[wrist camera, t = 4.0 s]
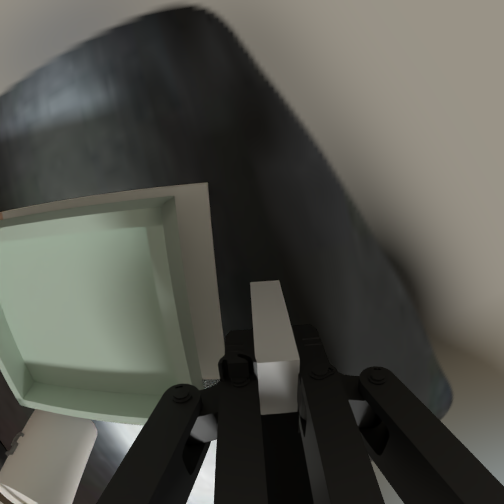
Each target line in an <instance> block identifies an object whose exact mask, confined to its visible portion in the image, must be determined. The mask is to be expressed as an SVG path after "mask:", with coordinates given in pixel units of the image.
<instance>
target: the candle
mask: <svg viewBox="0 0 504 504" xmlns="http://www.w3.org/2000/svg"><path fill="white" fill-rule="evenodd" d="M96 437H97V429H96V426H95V424H94V423H93V422H92V420H91V419H86V418H79V417H74V416H68V415H63V414H58V413H53V412H48V411H43V410H39V409H35V410H34V412H33V414H32V415H31V417H30V419H29V420H28V422H27V424H26V425H25V427H24V429H23V431H22V432H19V433H18V434H17V435H16V436H15V438H14V439H13V441H12V443H11V446H12V448H11V450H10V451H7V452H6V453H5V454H6V455H7V456H8V457H7V459H6V461H5V463H4V465H3V467H2V469H1V471H0V492H1V493H2V494H3V495H4V496H5V497H6V498H7V499H9V500H10V501H11V502H12V503H14V504H72V502H73V499H74V496H75V493H76V490H77V488H78V485H79V482H80V479H81V476H82V474H83V471H84V468H85V466H86V463H87V460H88V458H89V455H90V452H91V450H92V447H93V445H94V442H95V439H96Z"/></svg>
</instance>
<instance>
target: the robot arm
mask: <svg viewBox="0 0 504 504" xmlns="http://www.w3.org/2000/svg"><path fill="white" fill-rule="evenodd" d="M250 288H251V304H252V320H253V329H252V330H234V331H230V332H229V334H228V335H227V336H226V339H225V355H224V356H223V357H222V358H221V359H220V360H219V362H218V369H219V376H220V381H219V382H218V383H217V384H216V385H214V386H212V387H209V388H206V389H202V390H199V389H198V388H196V387H195V386H193V385H190V384H177V385H174V386H172V387H170V388H168V389H167V390H166V391H165V392H164V394H163V395H162V397H161V399H160V400H159V402H158V404H157V405H156V407H155V409H154V410H153V412H152V413H151V415H150V417H149V418H148V420H147V422H146V423H145V425H144V426H143V428H142V430H141V431H140V433H139V435H138V436H137V438H136V440H135V441H134V443H133V444H132V446H131V448H130V449H129V451H128V453H127V454H126V456H125V458H124V459H123V461H122V462H121V464H120V466H119V467H118V469H117V471H116V472H115V474H114V476H113V477H112V479H111V480H110V482H109V484H108V485H107V487H106V489H105V490H104V492H103V494H102V495H101V497H100V498H99V500H98V502H97V503H96V504H186V502H187V500H188V497H189V495H190V493H191V490H192V488H193V485H194V483H195V480H196V478H197V476H198V473H199V471H200V468H201V466H202V463H203V461H204V458H205V456H206V453H207V451H208V448H209V446H210V443H211V441H212V440H216V439H217V449H216V469H215V491H214V504H268V498H267V485H266V473H265V461H264V449H263V436H262V424H261V415H266V414H279V413H289V412H297V410H298V408H299V427H298V433H301V436H302V441H303V446H304V452H305V457H306V463H307V468H308V474H309V479H310V485H311V490H312V496H313V501H314V504H385V503H384V500H383V497H382V494H381V491H380V488H379V485H378V482H377V479H376V476H375V473H374V470H373V467H372V464H371V461H370V458H369V456H370V457H371V458H372V460H373V461H374V462H375V464H376V465H377V466H378V468H379V469H380V471H381V472H382V474H383V475H384V476H385V478H386V479H387V480H388V482H389V483H390V485H391V486H392V487H393V489H394V490H395V491H396V493H397V494H398V496H399V497H400V498H401V500H402V501H403V502H404V504H504V486H503V485H502V484H501V483H500V482H499V481H498V480H497V479H496V478H495V477H494V476H493V475H492V474H491V473H490V472H489V471H488V470H487V469H486V468H485V467H484V466H483V464H482V463H481V462H480V461H479V460H478V459H477V458H476V457H475V456H474V455H473V454H472V453H471V452H470V451H469V450H468V449H467V448H466V447H465V446H464V445H463V444H462V443H461V442H460V441H459V440H458V439H457V438H456V437H455V436H454V435H453V434H452V433H451V431H450V430H449V429H448V428H447V427H446V426H445V425H444V424H443V423H442V422H441V421H440V420H439V419H438V418H437V417H436V416H435V415H434V414H433V413H432V412H431V411H430V410H429V409H428V408H427V407H426V406H425V405H424V404H423V403H422V402H421V401H420V400H419V399H418V398H417V397H416V396H415V395H414V394H413V393H412V392H411V391H410V390H409V389H408V388H407V387H406V386H405V385H404V384H403V383H402V382H401V381H400V380H399V379H398V378H397V377H396V376H395V375H394V374H393V373H392V372H391V371H389V370H388V369H386V368H383V367H375V366H374V367H369V368H367V369H365V370H363V371H362V372H361V374H360V376H350V375H343V374H341V373H338V371H337V370H336V368H335V367H333V366H332V365H330V364H329V361H328V358H327V356H326V353H325V350H324V348H323V345H322V342H321V340H320V338H319V334H318V332H317V330H316V329H315V328H314V327H313V326H312V325H310V324H306V325H295V326H291V323H290V320H289V316H288V312H287V308H286V304H285V301H284V297H283V293H282V289H281V286H280V282H279V280H276V281H261V282H250ZM6 452H7V451H6V450H5V448H4V447H3V445H2V444H1V443H0V471H1V469H2V467H3V465H4V463H5V461H6V459H7V457H8V456H7V455H6V454H5V453H6ZM368 454H369V456H368Z"/></svg>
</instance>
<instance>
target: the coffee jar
mask: <svg viewBox="0 0 504 504" xmlns="http://www.w3.org/2000/svg"><path fill="white" fill-rule="evenodd" d="M261 424H262V436H263V449H264V461H265V473H266V485H267V498H268V504H314V501H313V496H312V490H311V485H310V479H309V474H308V468H307V463H306V457H305V452H304V446H303V441H302V436H301V433H298V427H299V408H298V410H297V412H289V413H279V414H266V415H261Z"/></svg>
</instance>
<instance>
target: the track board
mask: <svg viewBox="0 0 504 504" xmlns="http://www.w3.org/2000/svg"><path fill="white" fill-rule="evenodd" d="M166 196H175V204H176V213H177V222H178V230H179V238H180V246H181V254H182V261H183V268H184V275H185V282H186V289H187V295H188V301H189V308H190V314H191V320H192V326H193V331H194V337H195V343H196V348H197V353H198V359H199V364H200V369H201V374H202V379H203V380H211V379H220V376H219V369H218V362H219V360H220V359H221V358H222V357H223V356H224V355H225V344H224V336H223V328H222V319H221V311H220V302H219V293H218V284H217V275H216V265H215V255H214V245H213V235H212V224H211V213H210V202H209V190H208V182H206V183H194V184H183V185H173V186H163V187H154V188H145V189H137V190H129V191H121V192H113V193H106V194H99V195H92V196H85V197H79V198H72V199H66V200H60V201H54V202H49V203H43V204H37V205H32V206H27V207H22V208H17V209H12V210H7V211H2V212H0V220H3V219H8V218H13V217H19V216H25V215H30V214H36V213H42V212H49V211H55V210H61V209H68V208H75V207H82V206H89V205H96V204H104V203H112V202H120V201H128V200H137V199H146V198H156V197H166Z"/></svg>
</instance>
